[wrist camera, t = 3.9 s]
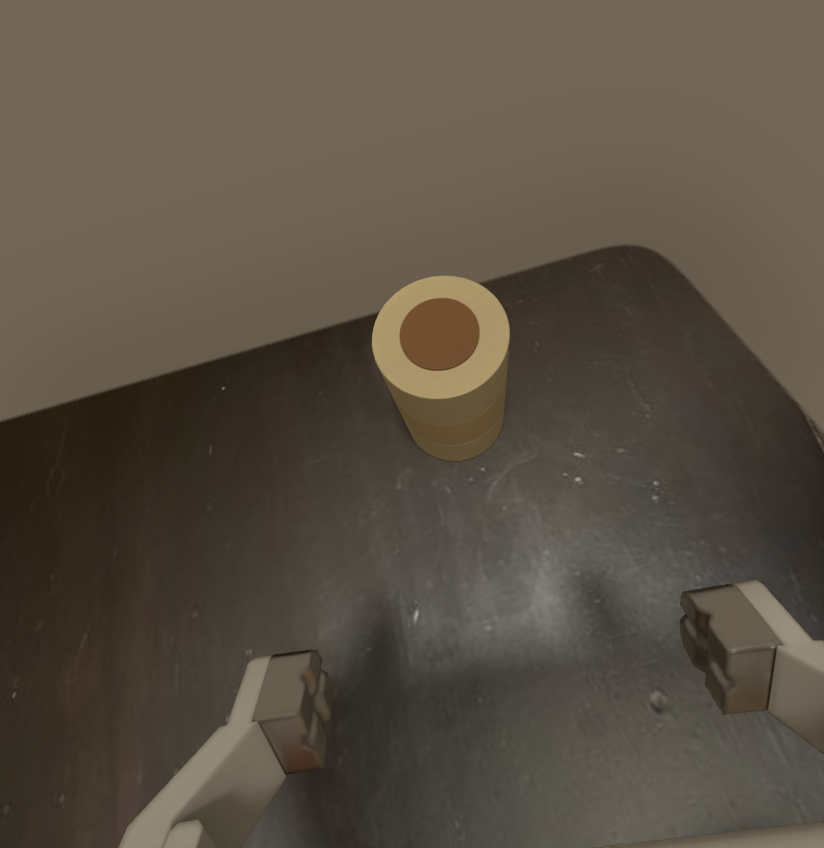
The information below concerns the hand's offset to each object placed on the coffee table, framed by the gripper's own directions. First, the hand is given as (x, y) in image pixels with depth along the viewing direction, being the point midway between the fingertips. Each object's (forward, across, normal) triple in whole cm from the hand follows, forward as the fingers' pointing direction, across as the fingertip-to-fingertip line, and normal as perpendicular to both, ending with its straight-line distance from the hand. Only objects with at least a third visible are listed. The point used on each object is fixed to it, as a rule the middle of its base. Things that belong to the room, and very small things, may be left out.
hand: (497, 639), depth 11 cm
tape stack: (+17, 0, +2) cm, 17 cm away
